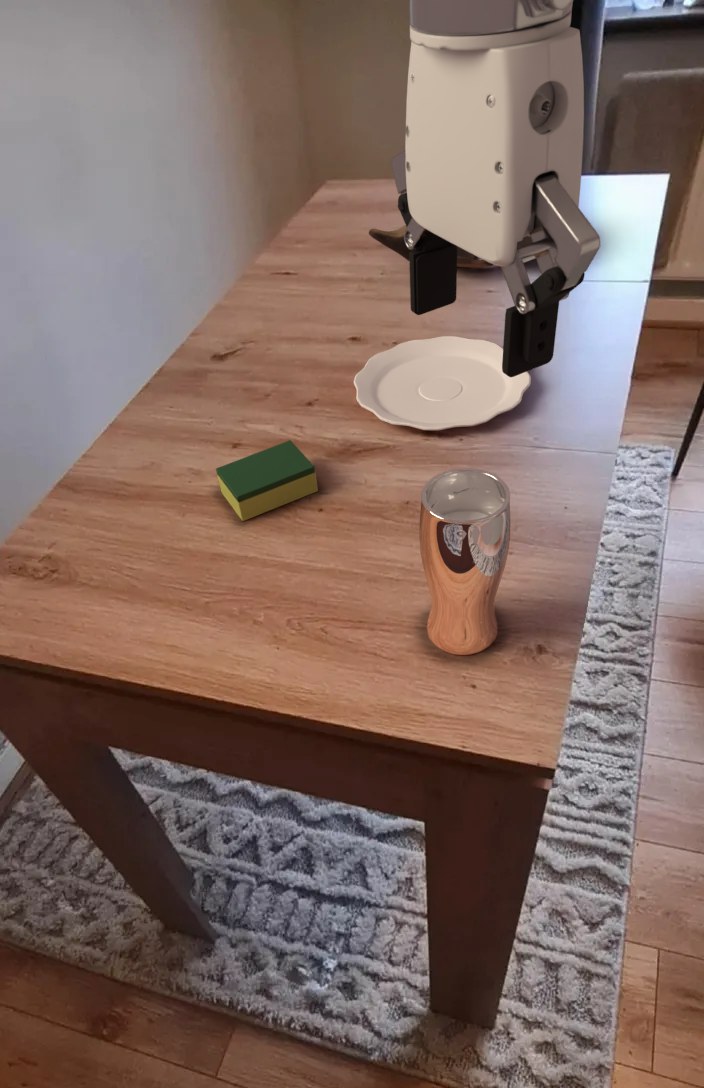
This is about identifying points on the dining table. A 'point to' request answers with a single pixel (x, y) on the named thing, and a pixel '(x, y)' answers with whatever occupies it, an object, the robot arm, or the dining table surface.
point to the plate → (439, 383)
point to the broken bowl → (398, 245)
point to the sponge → (267, 480)
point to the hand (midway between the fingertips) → (477, 336)
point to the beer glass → (464, 555)
